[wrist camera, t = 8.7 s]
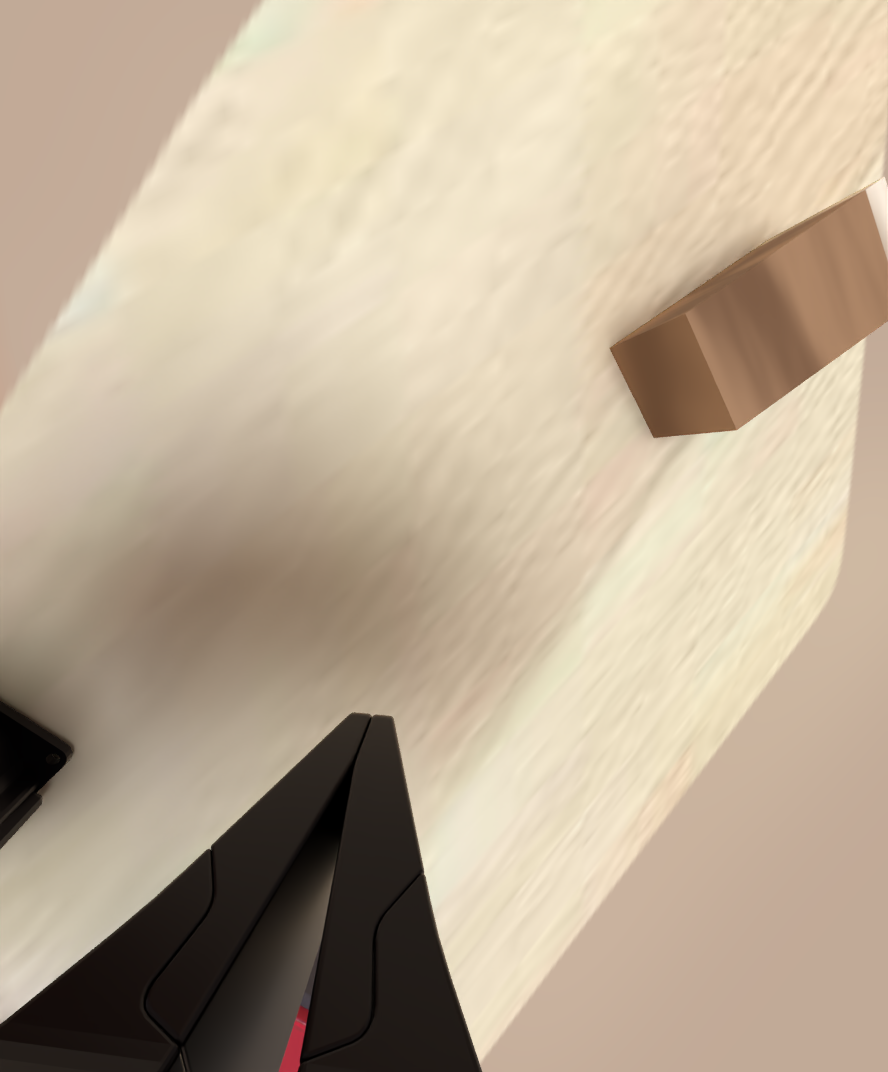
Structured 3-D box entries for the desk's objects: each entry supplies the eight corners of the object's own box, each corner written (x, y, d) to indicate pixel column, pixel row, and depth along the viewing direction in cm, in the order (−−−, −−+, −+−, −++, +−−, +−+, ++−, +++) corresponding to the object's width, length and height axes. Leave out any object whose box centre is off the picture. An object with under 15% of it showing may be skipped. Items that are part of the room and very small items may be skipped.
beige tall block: (736, 430, 18) (920, 297, 18) (685, 313, 16) (884, 176, 17) (653, 437, 22) (801, 332, 23) (609, 348, 21) (767, 240, 22)
